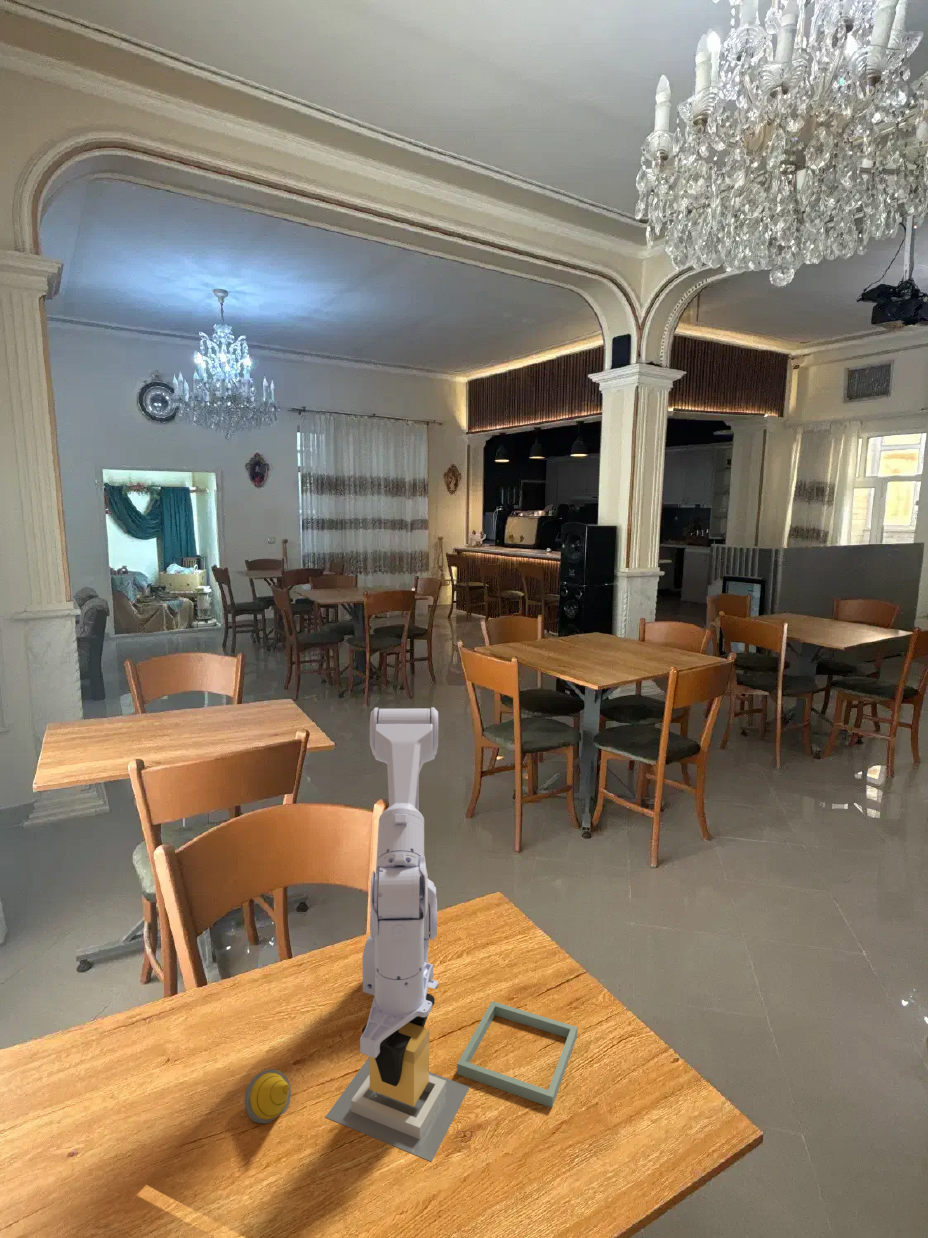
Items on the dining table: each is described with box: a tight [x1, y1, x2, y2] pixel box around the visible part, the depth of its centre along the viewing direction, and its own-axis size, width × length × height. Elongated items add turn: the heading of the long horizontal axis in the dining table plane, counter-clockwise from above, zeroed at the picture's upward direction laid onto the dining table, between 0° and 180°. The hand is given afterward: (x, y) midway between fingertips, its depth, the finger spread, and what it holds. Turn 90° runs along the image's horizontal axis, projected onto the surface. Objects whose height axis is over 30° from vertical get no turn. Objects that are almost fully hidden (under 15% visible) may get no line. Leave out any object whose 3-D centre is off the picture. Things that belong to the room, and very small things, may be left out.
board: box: [324, 1057, 470, 1163], centre depth 82 cm, size 14×11×2 cm
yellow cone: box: [244, 1068, 292, 1125], centre depth 80 cm, size 5×5×10 cm
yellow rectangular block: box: [368, 1022, 430, 1106], centre depth 81 cm, size 6×4×7 cm, turn 67°
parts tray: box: [456, 1000, 578, 1109], centre depth 90 cm, size 13×13×2 cm
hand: (399, 1067), depth 82 cm, fingers closed on yellow rectangular block, 4 cm apart
